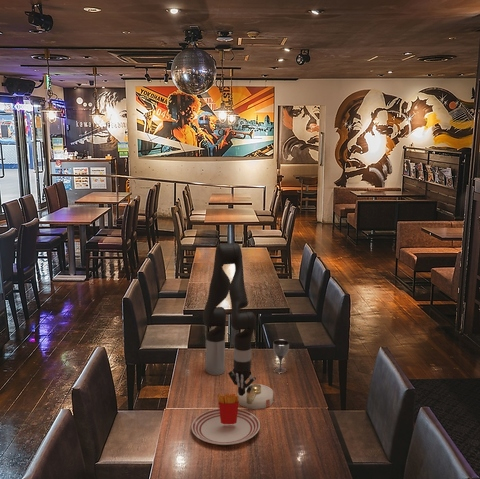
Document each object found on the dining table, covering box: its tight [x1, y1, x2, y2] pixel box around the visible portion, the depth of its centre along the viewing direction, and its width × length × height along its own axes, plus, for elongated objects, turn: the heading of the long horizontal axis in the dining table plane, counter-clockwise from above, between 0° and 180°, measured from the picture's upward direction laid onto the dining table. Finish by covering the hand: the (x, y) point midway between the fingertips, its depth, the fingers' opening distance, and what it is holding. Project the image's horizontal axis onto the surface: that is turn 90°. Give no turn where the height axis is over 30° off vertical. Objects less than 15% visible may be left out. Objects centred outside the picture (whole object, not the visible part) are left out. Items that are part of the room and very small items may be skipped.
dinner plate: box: [190, 407, 261, 446], centre depth 215 cm, size 28×27×3 cm
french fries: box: [217, 393, 240, 424], centre depth 215 cm, size 8×4×12 cm, turn 91°
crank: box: [247, 383, 261, 404], centre depth 233 cm, size 16×5×7 cm, turn 165°
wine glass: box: [272, 339, 290, 374], centre depth 270 cm, size 8×8×15 cm
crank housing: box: [236, 383, 274, 410], centre depth 239 cm, size 16×16×4 cm
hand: (241, 394), depth 231 cm, fingers closed
